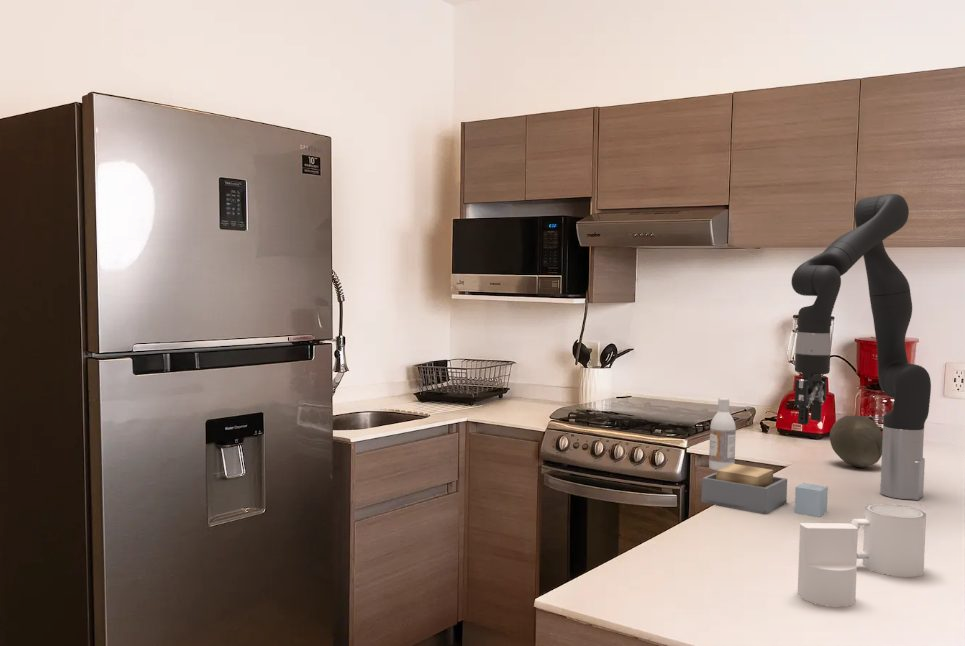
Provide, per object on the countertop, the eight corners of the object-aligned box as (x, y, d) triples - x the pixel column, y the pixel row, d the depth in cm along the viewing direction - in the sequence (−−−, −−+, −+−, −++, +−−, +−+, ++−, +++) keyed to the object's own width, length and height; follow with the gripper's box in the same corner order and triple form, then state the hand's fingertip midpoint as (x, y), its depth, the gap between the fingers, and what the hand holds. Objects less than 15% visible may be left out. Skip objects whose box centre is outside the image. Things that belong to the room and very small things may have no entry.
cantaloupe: (872, 462, 252) (874, 412, 251) (890, 473, 238) (892, 420, 237) (823, 461, 253) (825, 411, 253) (838, 471, 239) (840, 418, 239)
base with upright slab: (840, 587, 146) (842, 518, 146) (865, 607, 137) (868, 534, 137) (788, 586, 146) (791, 518, 145) (810, 606, 137) (813, 533, 136)
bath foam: (704, 466, 242) (706, 397, 241) (725, 465, 244) (727, 396, 243) (717, 472, 235) (720, 400, 234) (739, 471, 237) (741, 400, 236)
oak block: (772, 498, 203) (773, 469, 203) (756, 506, 196) (758, 476, 195) (732, 491, 210) (733, 463, 209) (715, 499, 202) (716, 470, 202)
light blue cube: (826, 512, 195) (827, 486, 195) (819, 517, 191) (820, 491, 191) (802, 508, 199) (803, 482, 199) (794, 512, 195) (795, 487, 194)
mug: (864, 578, 151) (866, 519, 151) (835, 559, 161) (837, 504, 161) (935, 576, 153) (938, 518, 152) (902, 558, 163) (904, 503, 162)
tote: (786, 502, 203) (787, 478, 203) (766, 514, 193) (766, 488, 192) (724, 491, 213) (724, 468, 213) (701, 502, 202) (702, 478, 202)
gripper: (819, 354, 187) (815, 428, 188) (839, 352, 198) (836, 421, 199) (785, 352, 192) (782, 423, 192) (806, 349, 203) (803, 417, 203)
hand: (809, 422), depth 195 cm, fingers open, 8 cm apart
